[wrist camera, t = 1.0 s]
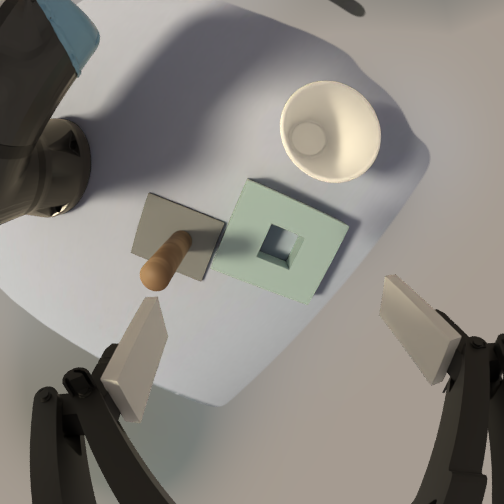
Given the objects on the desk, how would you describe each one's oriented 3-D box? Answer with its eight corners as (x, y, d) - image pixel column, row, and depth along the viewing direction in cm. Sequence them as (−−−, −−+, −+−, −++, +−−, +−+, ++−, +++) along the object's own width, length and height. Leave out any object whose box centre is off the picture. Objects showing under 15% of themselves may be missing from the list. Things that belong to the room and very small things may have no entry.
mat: (131, 251, 37) (130, 252, 37) (149, 192, 35) (148, 193, 34) (201, 280, 39) (201, 281, 38) (224, 222, 36) (224, 223, 36)
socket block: (213, 260, 38) (210, 268, 35) (247, 178, 34) (247, 179, 31) (303, 295, 40) (307, 305, 37) (341, 221, 36) (349, 226, 34)
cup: (347, 173, 34) (385, 180, 24) (274, 179, 34) (287, 187, 24) (339, 102, 31) (373, 82, 21) (265, 105, 31) (273, 81, 21)
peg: (167, 247, 37) (136, 284, 25) (174, 227, 36) (143, 257, 24) (187, 255, 37) (164, 295, 26) (195, 235, 36) (172, 269, 25)
